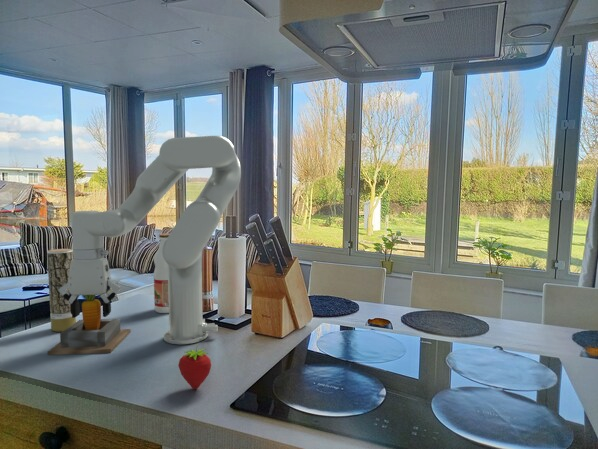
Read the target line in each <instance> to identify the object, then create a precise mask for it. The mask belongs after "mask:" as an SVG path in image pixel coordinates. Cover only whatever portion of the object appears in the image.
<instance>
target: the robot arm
mask: <svg viewBox="0 0 598 449" xmlns="http://www.w3.org/2000/svg"><path fill="white" fill-rule="evenodd" d="M158 152H159V153H158V155H157V157H155V159H154V160H153V161H152V162H151V163H150V164H149V165H148V166H147V167H146V168H145V169H144V170H143V171H142V172H141V173H140V175H139V174H138V175H139V176H138V177H137V179H136V181H135V187H134V188H133V190H132V192H130V194H129V196H128V197H126V199H125V200H124V202H122V203H121V204H120V206H118V207H117V208H115V209H113V210H112V209H111V210H106V211H105V210H104V211H99V210H77V211H75V212H73V213H72V214H71V232H72V233H71V234H72V235H71V236H72V249H73V250H72V251H73V260H71V265H70V271H69V282H68V283H66V284H65V285H64V286H62V287H61V288H60V289H59V292H60V293H61V294H62V295H63V297H64V298H65V299H66V300H67V301H68V303H69V304H70V307H71V314H72V318H75V317H76V318H77V317H78V316H80V314H81V308H80V301H79V297H80V296H84V295H96V296H100V297H101V299H102V301H103V302H102V303H101V307H102V317H103V318H106V317H108V316H109V315H110V313H111V312H112V303H111V302H112V300H113V299H114V298H115V297H116V296H117V295H118V294H119V292H120V291H121V290H122V287H121V286H120V285H119V284H117V283H116V282H114V281H113V280H112V277H111V270H110V264H109V261H108V258H107V257H105V256H108V255H109V253H110V252H109V250H106V249H105V247H104V237H106V238H118V237H121V236H123V235H126V234H128V233H130V232H132V230H134V229H135V228H136V227H137V226H138V225H139V224H140V223H141V222H142V220H144V218H146V216H147V215H149V213H150V212H151V211H152V209H154V207H155V206H156V205H157V204H158V203H159V202H161V200H162V198H163V197H164V196H165V195H166V194H167V193H168V192H169V191H170V190H171V189H172V188H173V186H175V184H176V183H177V182H178V181H179V180H180V179H182V177H183V176H184V175H185V174H186V173H187V171H188V170H190V169H191V170H192V169H193V170H194V169H209V168H211V169H212V171H211V174H210V177H209V178H208V180H207V182H206V183H205V185H204V186H203V189H202V190H201V191H200V193H199V195H197V198H196V199H195V200H194V201H192V202H191V203H190V204H188V206H187V207H186V208H184V211H183V212H182V214H181V215H180V217H179V219H178V220H177V221H176V224H175V225H174V227H173V228H172V230H171V232H170V235H169V236H168V238H167V239H166V241H165V243H164V245H163V249H162V255H163V258H164V260H165V262H166V263H167V264H168V296H169V313H168V322H169V323H168V326H169V327H168V328H169V329H168V331H167V332H165V333H164V335H163V340H164V342H166V343H168V344H171V345H190V344H196V343H199V342H202V341H204V340H206V338H208V336H209V332H214V333H215V332H218V331H219V330H218V324H215V322H212V323H208V322H206V318H203V271H202V270H203V250H204V248H205V247H206V245H207V244H208V242H209V240H210V239H211V237H212V235H213V234H214V232H215V231H216V229H217V227H218V226H219V224H220V220H221V217H222V216H223V214H224V213H225V211H226V210H227V208H228V206H229V204H230V202H231V200H232V199H233V197H234V195H235V193H236V192H237V189H238V188H239V186H240V183H241V179H242V168H241V167H242V166H241V162H240V160H239V158H238V155H237V154H236V151H235V146H234V144H233V143H232V141H230V139H228V137H225V136H222V135H203V136H201V135H200V136H188V137H187V136H186V137H185V136H184V137H172V138H168V139H167V140H165V141H164V142H163V143H162V144H161V146H160V148H159V151H158ZM68 288H69V292H70V293H68V291H67V289H68ZM111 290H112V292H111V293H109V292H110V291H111ZM71 294H72V295H71Z"/></svg>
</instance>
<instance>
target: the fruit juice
mask: <svg viewBox="0 0 598 449" xmlns="http://www.w3.org/2000/svg"><path fill="white" fill-rule="evenodd" d="M170 233H171V232H170ZM170 233H166V232H165V233H160V234H159V235H158V237H159V240H160V242H159V246H158V249H157V250H156V252H155V254H154V256H153V263H154V266H155V267H154V271H153V292H154V293H153V294H154V296H153V298H154V311H155V312H156V313H159V314H169V296H168V264H167V263H166V262H165V260H164V258H163V255H162V249H163V245H164V243H165V241H166V239H167V238H168V236H169V235H170Z"/></svg>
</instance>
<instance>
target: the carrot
mask: <svg viewBox="0 0 598 449" xmlns="http://www.w3.org/2000/svg"><path fill="white" fill-rule="evenodd" d="M83 296H84V297H85V299H86V300H84V301H83V302H82V303H81V316H82V320H83V321H84V325H85V328H86V330H99V327H100V321H101V319H102V303H101V301H100V300H99V299H97V298H95V297H97V295H83Z"/></svg>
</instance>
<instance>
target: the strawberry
mask: <svg viewBox="0 0 598 449" xmlns="http://www.w3.org/2000/svg"><path fill="white" fill-rule="evenodd" d="M196 343H197V344H196V348H195V349H196V350H193V349H190V350H187V351H184V353H185V354H183V356H181V357H180V359H179V360H178V365H177V366H178V369H179V371H180V375H181V376H182V377H183V379H184V380H185V381H186V382H187V383H188V385H189V386H190V388H192V389H193V390H197V389H199V388H200V387H201V385H202V383H204V382H205V381H206V378H207V377H208V375H209V374H210V373H211V372H210V371H211V368H212V361H211V359H210V358H209V356H207V354H208V352H205V350H206V349H207V348H203V349H198V345H199V342H196ZM197 350H198V351H197ZM208 355H209V354H208Z"/></svg>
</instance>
